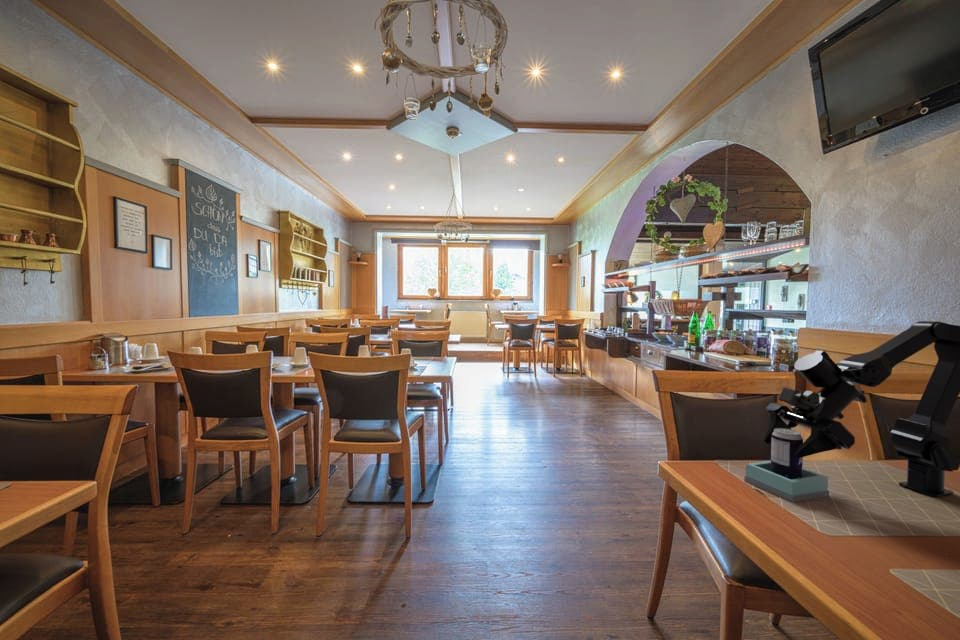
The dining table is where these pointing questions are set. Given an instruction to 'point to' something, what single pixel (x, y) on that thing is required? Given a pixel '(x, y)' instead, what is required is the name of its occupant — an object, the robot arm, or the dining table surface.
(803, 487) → the can dock
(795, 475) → the beverage can
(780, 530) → the dining table surface
